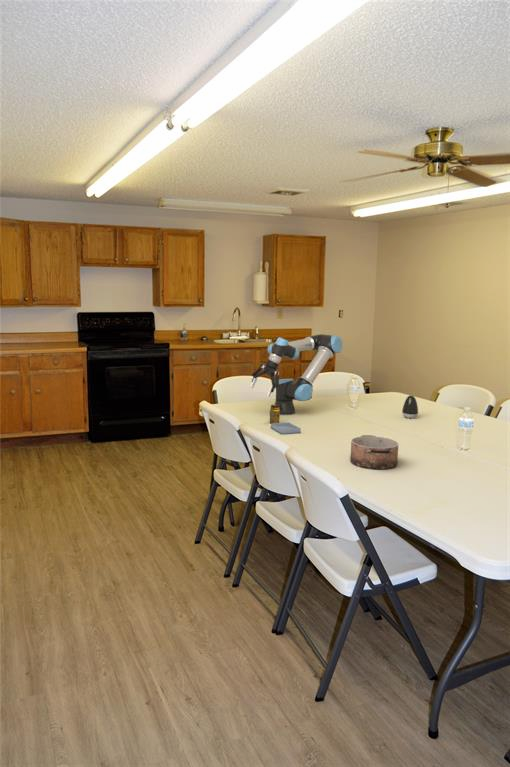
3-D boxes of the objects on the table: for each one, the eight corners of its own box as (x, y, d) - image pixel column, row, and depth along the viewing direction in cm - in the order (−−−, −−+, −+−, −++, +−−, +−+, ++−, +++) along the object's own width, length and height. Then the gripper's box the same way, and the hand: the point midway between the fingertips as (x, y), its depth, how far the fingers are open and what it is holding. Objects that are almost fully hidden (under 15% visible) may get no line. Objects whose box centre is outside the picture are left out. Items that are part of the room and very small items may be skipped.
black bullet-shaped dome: (416, 416, 391) (417, 394, 389) (418, 419, 381) (420, 397, 379) (400, 415, 392) (402, 393, 390) (403, 419, 382) (404, 396, 380)
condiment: (282, 424, 358) (282, 405, 356) (270, 426, 353) (271, 406, 351) (275, 422, 364) (275, 403, 362) (264, 423, 359) (264, 404, 357)
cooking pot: (344, 454, 296) (345, 433, 294) (388, 455, 296) (389, 434, 295) (356, 472, 266) (358, 449, 264) (405, 473, 267) (406, 450, 265)
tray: (288, 427, 352) (288, 422, 351) (300, 433, 337) (300, 428, 336) (270, 428, 347) (270, 423, 347) (281, 434, 332) (281, 429, 332)
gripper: (255, 353, 368) (241, 383, 370) (286, 367, 355) (272, 399, 357) (261, 355, 375) (247, 385, 376) (292, 369, 362) (278, 400, 364)
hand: (259, 392), depth 367 cm, fingers open, 13 cm apart
